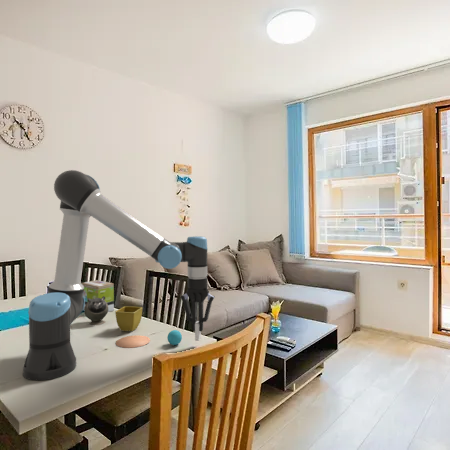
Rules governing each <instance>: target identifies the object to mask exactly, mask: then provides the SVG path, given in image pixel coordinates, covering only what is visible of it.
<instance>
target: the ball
mask: <svg viewBox="0 0 450 450" xmlns="http://www.w3.org/2000/svg"><path fill="white" fill-rule="evenodd" d="M182 335H183V334H182V333H181V331H179V330H177V329H173V330H171V331H169V333H168V334H167V342H168V343H169V344H170V345H171V346H178V345H179V344H180V343H181V342H182V339H183V336H182Z"/></svg>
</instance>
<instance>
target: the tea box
mask: <svg viewBox="0 0 450 450" xmlns="http://www.w3.org/2000/svg"><path fill="white" fill-rule="evenodd" d="M81 284H82V285H83V286H84V292H83V296H84V299H85V305H86V304H87V302H88V298H90V299H94V298H102V297H103V296H105V301H106V303H107V304H108V313H111V312H113V311H115V296H114V295H115V293H114V292H115V290H114V289H115V288H114V287H115V286H114V285H115V284H114V283H112V282H108V281H103V280H99V279H95V280H90V281H85V282H81ZM85 305H84V308H85ZM83 311H84V309H83Z"/></svg>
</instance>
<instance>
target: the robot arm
mask: <svg viewBox="0 0 450 450" xmlns="http://www.w3.org/2000/svg"><path fill="white" fill-rule="evenodd" d="M53 191H54V194H55V195H56V197H57V198H58V200H60V204H59V210H60V211H61V212H62V214H63V218H62V224H61V230H60V237H59V238H60V239H59V246H58V251H57V260H56V265H55V275H54V280H53V282H51V283H50V284H49V285H48V289H47V290H48V291H47V293H44V294H39V295H37V296H35V297H34V298H32V299H31V300H30V302H29V307H28V312H27V313H28V335H29V336H28V339H29V340H28V341H29V349H28V351H27V354H26V357H25V360H24V364H23V367H22V377H24V378H25V379H27V380H30V381H31V380H32V381H44V380H52V379H55V378H59V377H62V376H63V377H64V376H65V375H68V374H70V373H71V372H73V371H74V370H75V369H76V367H77V356H76V355H75V352H74V348H73V346H72V344H71V324H72V323H73V322H75V320H76V319H78V318H79V317H80V315H81V314H82V312H83V311H84V310H83V309H84V305H85V299H84V296H83V292H84V286H83V285H82V284H81V283H82V281H81V280H82V273H83V266H84V261H85V260H84V259H85V251H86V245H87V238H88V231H89V226H90V225H89V223H90V217H92V218H94V219H95V220H97V222H100V224H102V225H104V226H105V227H107V228H108V229H109V230H111V231H112V232H114V233H115V234H117V235H119V236H120V237H121V238H123V239H124V240H126V241H128V242H129V243H130V244H132V245H133V246H135V247H136V248H138V249H139V250H141V251H142V252H144V253H146V255H148V256H149V257H151V258H152V259H153V260H154V261H155V262H156V263H159V265H160V266H161V267H163V268H164V269H168V270H171V269H174V268H176V267H177V266H179V265H180V263H187V277H188V278H187V290H186V293H184V294H182V295H181V296H180V299H181V301H182V302H183V306H184V311H185V315H186V319H187V321H188V322H191V323H192V324H191V325H192V332H194V340H195V342H197V341H200V340H201V339H202V337H201V336H202V333H201V332H203V331H204V323H205V322H207V321H208V319H209V316H210V311H211V307H212V303H213V301H214V299H215V298H216V297H215V295H212V294H211V293H210V291H209V290H208V289H209V288H208V285H209V284H208V240H207V238H206V236H198V235H197V236H196V235H195V236H188V237H187V238H186V241H182V242H181V241H180V242H179V241H172V242H171V241H169V240H167V239H166V238H165V237H163V236H162V235H161V234H159V233H157V232H156V231H155V230H154V229H152V228H150V227H148V226H147V225H146V224H144V223H143V222H141V221H140V220H138V219H137V217H134V216H133V215H131V214H130V213H129V212H127V211H126V210H125V209H123V208H121V207H120V206H119V205H117V204H116V203H115V202H113V201H111V200H110V199H109V198H107V197H106V196H104V195H103V194H101V188H100V185H99V184H98V182H97V181H96V180H95V178H94V177H92V176H90V175H88V174H86V173H83V172H82V171H79V170H74V169H68V170H66V171H64V172H63V171H62V172H61V173H60V174H59V175H58V176H57V177H56V178H55V181H54V184H53ZM206 299H207V304H206V308H205V312H204V301H205V300H206ZM189 300H190V301H191V306H190V303H189Z"/></svg>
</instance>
